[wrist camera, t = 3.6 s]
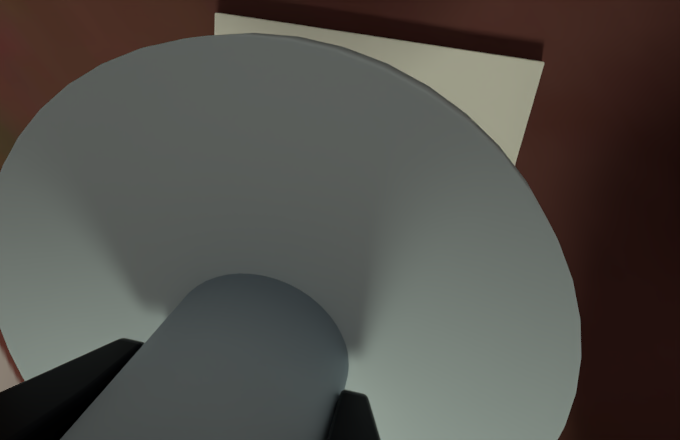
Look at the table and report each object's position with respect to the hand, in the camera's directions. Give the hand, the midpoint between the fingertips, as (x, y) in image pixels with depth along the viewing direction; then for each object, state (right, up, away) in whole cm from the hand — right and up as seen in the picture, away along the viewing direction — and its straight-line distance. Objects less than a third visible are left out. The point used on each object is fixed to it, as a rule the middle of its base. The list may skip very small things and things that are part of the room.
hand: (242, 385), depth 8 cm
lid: (0, +1, +1) cm, 2 cm away
